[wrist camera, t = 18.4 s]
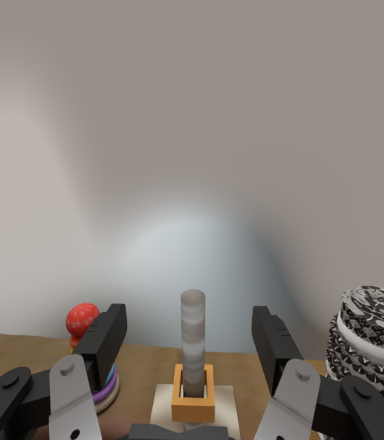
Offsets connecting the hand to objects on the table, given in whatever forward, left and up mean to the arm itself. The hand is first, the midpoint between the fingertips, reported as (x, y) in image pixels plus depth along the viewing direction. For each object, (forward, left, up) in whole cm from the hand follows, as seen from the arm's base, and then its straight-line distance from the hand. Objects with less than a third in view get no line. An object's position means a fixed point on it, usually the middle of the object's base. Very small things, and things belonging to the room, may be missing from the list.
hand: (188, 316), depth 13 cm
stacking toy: (+8, +24, -32) cm, 41 cm away
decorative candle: (+21, -16, -32) cm, 42 cm away
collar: (+10, +5, -24) cm, 26 cm away
